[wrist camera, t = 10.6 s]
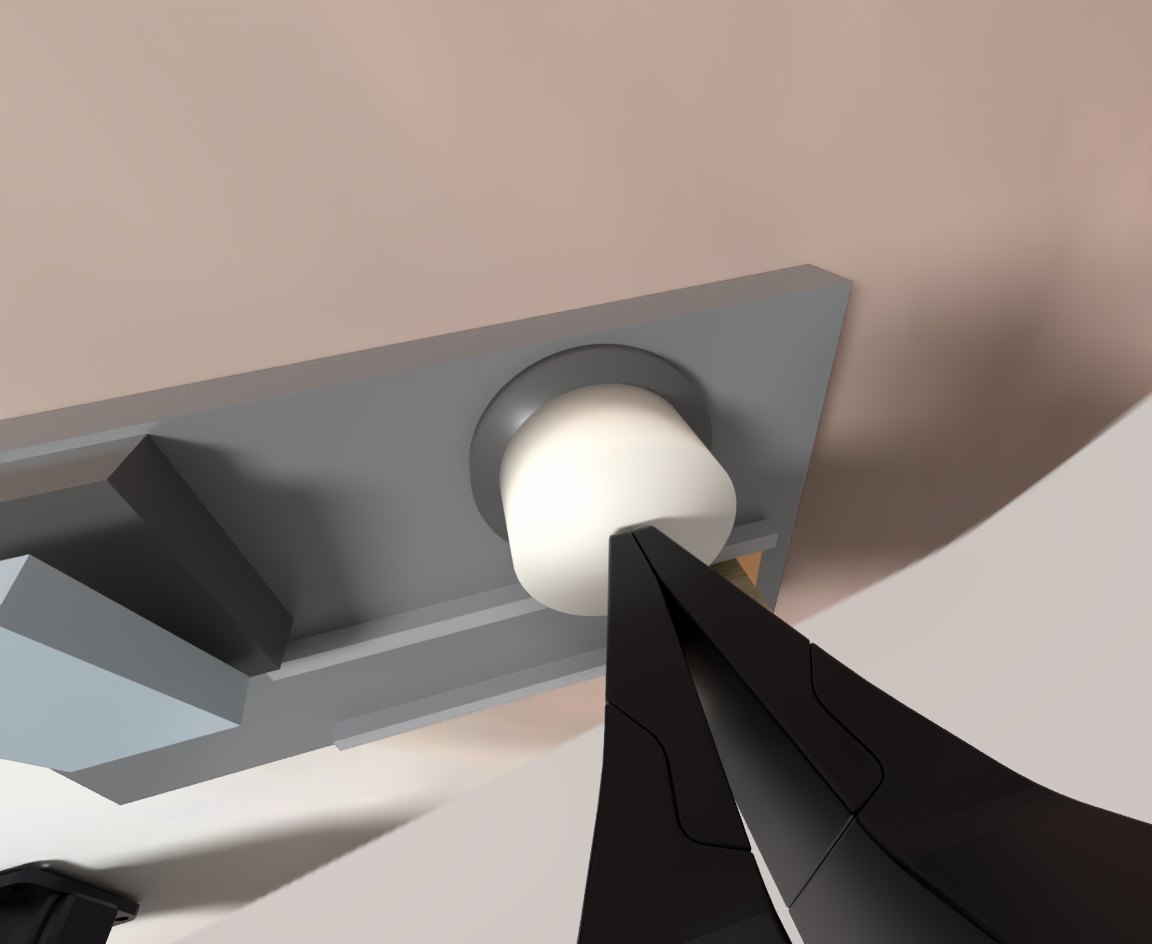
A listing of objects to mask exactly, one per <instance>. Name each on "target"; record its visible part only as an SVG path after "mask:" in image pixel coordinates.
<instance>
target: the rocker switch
mask: <svg viewBox="0 0 1152 944" xmlns="http://www.w3.org/2000/svg"><path fill="white" fill-rule="evenodd" d="M249 678H250V677H249V676H247V675H246V674H244V673H242V672H240V671H238V670H237V669H235V668H233V667H231V666H229V665H228V664H226V663H224V662H222V661H220V660H219V659H217V658H215V657H213V656H211V655H210V654H208V653H206V652H204V651H202V650H201V649H199V648H197V647H195V646H193V645H192V644H190V643H188V642H186V641H184V640H183V639H181V638H179V637H177V636H175V635H174V634H172V633H170V632H168V631H166V630H165V629H163V628H161V627H159V626H157V625H156V624H154V623H152V622H150V621H148V620H147V619H145V618H143V617H141V616H139V615H138V614H136V613H134V612H132V611H130V610H129V609H127V608H125V607H123V606H121V605H120V604H118V603H116V602H114V601H112V600H111V599H109V598H107V597H105V596H103V595H102V594H100V593H98V592H96V591H94V590H93V589H91V588H89V587H87V586H85V585H84V584H82V583H80V582H78V581H76V580H75V579H73V578H71V577H69V576H67V575H66V574H64V573H62V572H60V571H58V570H57V569H55V568H53V567H51V566H49V565H48V564H46V563H44V562H42V561H40V560H39V559H37V558H35V557H33V556H31V555H30V554H29V555H24V556H20V557H15V558H11V559H7V560H2V561H0V758H1V759H6V760H11V761H16V762H21V763H26V764H31V765H36V766H41V767H46V768H52V769H57V770H62V771H67V772H73V771H77V770H81V769H84V768H88V767H92V766H95V765H99V764H103V763H106V762H110V761H114V760H117V759H121V758H124V757H128V756H132V755H135V754H139V753H143V752H146V751H150V750H154V749H157V748H161V747H165V746H168V745H172V744H175V743H179V742H183V741H186V740H190V739H194V738H197V737H201V736H205V735H208V734H212V733H216V732H219V731H223V730H226V729H230V728H234V727H237V726H241V721H242V716H243V710H244V705H245V699H246V694H247V688H248V683H249Z"/></svg>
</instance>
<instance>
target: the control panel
mask: <svg viewBox="0 0 1152 944" xmlns="http://www.w3.org/2000/svg"><path fill="white" fill-rule="evenodd" d="M852 282H853V281H850V280H848V279H845V278H843V277H840V276H838V275H835V274H833V273H830V272H828V271H825V270H823V269H820V268H818V267H815V266H813V265H810V264H807V265H802V266H797V267H792V268H787V269H782V270H776V271H771V272H766V273H761V274H756V275H751V276H745V277H740V278H735V279H730V280H725V281H719V282H714V283H709V284H704V285H699V286H694V287H688V288H683V289H678V290H673V291H668V292H663V293H657V294H652V295H647V296H642V297H637V298H632V299H626V300H621V301H616V302H611V303H606V304H600V305H595V306H590V307H585V308H580V309H575V310H569V311H564V312H559V313H554V314H549V315H544V316H538V317H533V318H528V319H523V320H518V321H513V322H507V323H502V324H497V325H492V326H487V327H481V328H476V329H471V330H466V331H461V332H456V333H450V334H445V335H440V336H435V337H430V338H425V339H419V340H414V341H409V342H404V343H399V344H394V345H388V346H383V347H378V348H373V349H368V350H362V351H357V352H352V353H347V354H342V355H337V356H331V357H326V358H321V359H316V360H311V361H306V362H300V363H295V364H290V365H285V366H280V367H275V368H269V369H264V370H259V371H254V372H249V373H244V374H238V375H233V376H228V377H223V378H218V379H212V380H207V381H202V382H197V383H192V384H187V385H181V386H176V387H171V388H166V389H161V390H156V391H150V392H145V393H140V394H135V395H130V396H125V397H119V398H114V399H109V400H104V401H99V402H93V403H88V404H83V405H78V406H73V407H68V408H62V409H57V410H52V411H47V412H42V413H37V414H31V415H26V416H21V417H16V418H11V419H6V420H0V561H2V560H7V559H11V558H15V557H20V556H24V555H29V554H30V555H31V556H33V557H35V558H37V559H39V560H40V561H42V562H44V563H46V564H48V565H49V566H51V567H53V568H55V569H57V570H58V571H60V572H62V573H64V574H66V575H67V576H69V577H71V578H73V579H75V580H76V581H78V582H80V583H82V584H84V585H85V586H87V587H89V588H91V589H93V590H94V591H96V592H98V593H100V594H102V595H103V596H105V597H107V598H109V599H111V600H112V601H114V602H116V603H118V604H120V605H121V606H123V607H125V608H127V609H129V610H130V611H132V612H134V613H136V614H138V615H139V616H141V617H143V618H145V619H147V620H148V621H150V622H152V623H154V624H156V625H157V626H159V627H161V628H163V629H165V630H166V631H168V632H170V633H172V634H174V635H175V636H177V637H179V638H181V639H183V640H184V641H186V642H188V643H190V644H192V645H193V646H195V647H197V648H199V649H201V650H202V651H204V652H206V653H208V654H210V655H211V656H213V657H215V658H217V659H219V660H220V661H222V662H224V663H226V664H228V665H229V666H231V667H233V668H235V669H237V670H238V671H240V672H242V673H244V674H246V675H247V676H249V677H250V678H249V683H248V688H247V694H246V699H245V705H244V710H243V716H242V721H241V726H237V727H234V728H230V729H226V730H223V731H219V732H216V733H212V734H208V735H205V736H201V737H197V738H194V739H190V740H186V741H183V742H179V743H175V744H172V745H168V746H165V747H161V748H157V749H154V750H150V751H146V752H143V753H139V754H135V755H132V756H128V757H124V758H121V759H117V760H114V761H110V762H106V763H103V764H99V765H95V766H92V767H88V768H84V769H81V770H77V771H73V772H67V771H62V770H57V769H52V768H50V769H52V770H53V771H55V772H57V773H59V774H61V775H63V776H65V777H67V778H69V779H71V780H73V781H75V782H77V783H79V784H80V785H82V786H84V787H86V788H88V789H90V790H92V791H94V792H96V793H98V794H100V795H102V796H104V797H106V798H107V799H109V800H111V801H113V802H115V803H117V804H119V805H123V804H127V803H130V802H134V801H137V800H141V799H144V798H148V797H151V796H155V795H158V794H162V793H165V792H169V791H172V790H176V789H179V788H183V787H186V786H190V785H193V784H197V783H200V782H204V781H207V780H211V779H214V778H218V777H221V776H225V775H228V774H232V773H236V772H239V771H243V770H246V769H250V768H253V767H257V766H260V765H264V764H267V763H271V762H274V761H278V760H281V759H285V758H288V757H292V756H295V755H299V754H302V753H306V752H309V751H313V750H316V749H320V748H323V747H327V746H330V745H334V744H335V745H336V746H337V748H338V749H339V750H340V751H341V750H345V749H348V748H352V747H355V746H359V745H362V744H366V743H369V742H373V741H376V740H380V739H383V738H387V737H390V736H394V735H397V734H401V733H404V732H408V731H411V730H415V729H418V728H422V727H425V726H429V725H432V724H436V723H439V722H443V721H446V720H450V719H453V718H457V717H460V716H463V715H467V714H470V713H474V712H477V711H481V710H484V709H488V708H491V707H495V706H498V705H502V704H505V703H509V702H512V701H516V700H519V699H523V698H526V697H530V696H533V695H537V694H540V693H544V692H547V691H551V690H554V689H558V688H561V687H565V686H568V685H572V684H575V683H579V682H582V681H586V680H589V679H593V678H596V677H599V676H603V675H606V646H607V616H580V615H573V614H568V613H564V612H560V611H557V610H554V609H552V608H549V607H547V606H545V605H543V604H542V603H540V602H538V601H537V600H536V599H534V598H533V597H532V596H531V595H530V594H529V593H528V592H527V591H526V590H525V589H524V588H523V586H522V585H521V583H520V581H519V580H518V578H517V575H516V573H515V570H514V565H513V560H512V554H511V548H510V543H509V537H508V531H507V526H506V520H505V514H504V509H503V503H502V497H501V491H500V486H499V473H500V467H501V462H502V459H503V455H504V452H505V450H506V448H507V446H508V444H509V442H510V440H511V439H512V437H513V435H514V434H515V432H516V431H517V430H518V428H519V427H520V426H521V425H522V424H523V423H524V422H525V420H526V419H527V418H529V417H530V416H531V415H532V414H533V413H534V412H535V411H536V410H538V409H539V408H541V407H542V406H543V405H545V404H546V403H548V402H549V401H551V400H553V399H555V398H557V397H558V396H560V395H562V394H565V393H567V392H570V391H572V390H575V389H579V388H582V387H586V386H590V385H597V384H609V383H618V384H628V385H633V386H637V387H641V388H644V389H647V390H649V391H652V392H654V393H655V394H657V395H659V396H660V397H662V398H664V399H665V400H666V401H667V402H668V403H670V404H671V405H672V406H673V407H674V409H675V410H676V411H677V412H678V413H679V415H680V416H681V417H682V418H683V420H684V421H685V422H686V423H687V424H688V426H689V427H690V428H691V429H692V431H693V432H694V433H695V434H696V435H697V437H698V438H699V439H700V440H701V442H702V443H703V444H704V445H705V447H706V448H707V449H708V450H709V451H710V453H711V454H712V455H713V456H714V458H715V459H716V460H717V461H718V462H719V464H720V465H721V466H722V467H723V469H724V470H725V471H726V472H727V474H728V476H729V478H730V479H731V481H732V484H733V487H734V490H735V495H736V515H735V520H734V525H733V527H732V530H731V533H730V535H729V537H728V539H727V541H726V543H725V545H724V546H723V548H722V549H721V551H720V552H719V554H718V555H717V557H716V558H715V559H714V560H713V561H712V563H711V564H715V563H719V562H722V561H726V560H730V559H734V558H736V559H737V561H738V562H739V564H740V565H741V566H742V568H743V569H744V571H745V572H746V574H747V575H748V577H749V578H750V580H751V581H752V583H753V584H754V586H755V587H756V589H757V590H758V592H759V593H760V594H761V596H762V597H763V599H764V600H765V602H766V603H767V605H768V606H769V608H770V609H771V611H772V612H773V614H774V610H775V606H776V602H777V598H778V593H779V589H780V585H781V581H782V576H783V572H784V568H785V564H786V560H787V555H788V551H789V547H790V543H791V539H792V534H793V530H794V526H795V522H796V518H797V513H798V509H799V505H800V501H801V497H802V492H803V488H804V484H805V480H806V475H807V471H808V467H809V463H810V459H811V454H812V450H813V446H814V442H815V438H816V433H817V429H818V425H819V421H820V417H821V412H822V408H823V404H824V400H825V396H826V391H827V387H828V383H829V379H830V374H831V370H832V366H833V362H834V358H835V353H836V349H837V345H838V341H839V337H840V332H841V328H842V324H843V320H844V316H845V311H846V307H847V303H848V299H849V295H850V290H851V286H852ZM711 564H710V565H711Z"/></svg>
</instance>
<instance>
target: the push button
mask: <svg viewBox="0 0 1152 944" xmlns="http://www.w3.org/2000/svg"><path fill="white" fill-rule="evenodd" d="M499 486H500V491H501V497H502V503H503V509H504V514H505V520H506V526H507V531H508V537H509V543H510V548H511V554H512V560H513V565H514V570H515V573H516V575H517V578H518V580H519V581H520V583H521V585H522V586H523V588H524V589H525V590H526V591H527V592H528V593H529V594H530V595H531V596H532V597H533V598H534V599H536V600H537V601H538V602H540V603H542V604H543V605H545V606H547V607H549V608H552V609H554V610H557V611H560V612H564V613H568V614H573V615H580V616H607V598H608V551H609V537H610V535H612V534H616V533H620V532H624V531H630V532H631V531H632V530H633V529H636V528H640V527H644V526H648V525H652V526H654V527H656V528H657V529H658V530H660V531H661V532H663V533H664V534H665V535H667V536H668V537H669V538H671V539H672V540H673V541H675V542H676V543H678V544H679V545H680V546H682V547H683V548H684V549H686V550H687V551H689V552H690V553H691V554H693V555H694V556H695V557H697V558H698V559H699V560H701V561H702V562H704V563H705V564H706V565H708V566H709V565H710V564H711V563H712V561H713V560H714V559H715V558H716V557H717V555H718V554H719V552H720V551H721V549H722V548H723V546H724V545H725V543H726V541H727V539H728V537H729V535H730V533H731V530H732V527H733V525H734V520H735V515H736V495H735V490H734V487H733V484H732V481H731V479H730V478H729V476H728V474H727V472H726V471H725V470H724V469H723V467H722V466H721V465H720V464H719V462H718V461H717V460H716V459H715V458H714V456H713V455H712V454H711V453H710V451H709V450H708V449H707V448H706V447H705V445H704V444H703V443H702V442H701V440H700V439H699V438H698V437H697V435H696V434H695V433H694V432H693V431H692V429H691V428H690V427H689V426H688V424H687V423H686V422H685V421H684V420H683V418H682V417H681V416H680V415H679V413H678V412H677V411H676V410H675V409H674V407H673V406H672V405H671V404H670V403H668V402H667V401H666V400H665V399H664V398H662V397H660V396H659V395H657V394H655V393H654V392H652V391H649V390H647V389H644V388H641V387H637V386H633V385H628V384H618V383H609V384H597V385H590V386H586V387H582V388H579V389H575V390H572V391H570V392H567V393H565V394H562V395H560V396H558V397H557V398H555V399H553V400H551V401H549V402H548V403H546V404H545V405H543V406H542V407H541V408H539V409H538V410H536V411H535V412H534V413H533V414H532V415H531V416H530V417H529V418H527V419H526V420H525V422H524V423H523V424H522V425H521V426H520V427H519V428H518V430H517V431H516V432H515V434H514V435H513V437H512V439H511V440H510V442H509V444H508V446H507V448H506V450H505V452H504V455H503V459H502V462H501V467H500V473H499Z"/></svg>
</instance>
